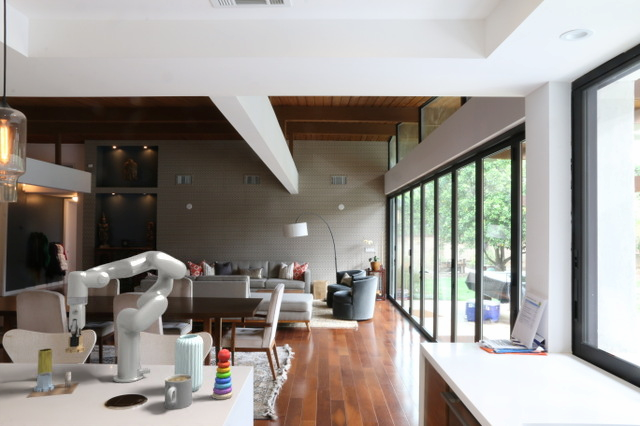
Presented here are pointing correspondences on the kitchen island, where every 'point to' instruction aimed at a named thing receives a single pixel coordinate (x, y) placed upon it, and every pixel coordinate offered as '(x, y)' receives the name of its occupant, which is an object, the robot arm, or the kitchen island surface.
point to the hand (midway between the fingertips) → (75, 344)
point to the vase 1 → (44, 361)
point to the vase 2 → (190, 358)
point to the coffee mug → (178, 391)
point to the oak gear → (75, 349)
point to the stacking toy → (223, 377)
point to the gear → (44, 383)
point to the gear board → (57, 388)
